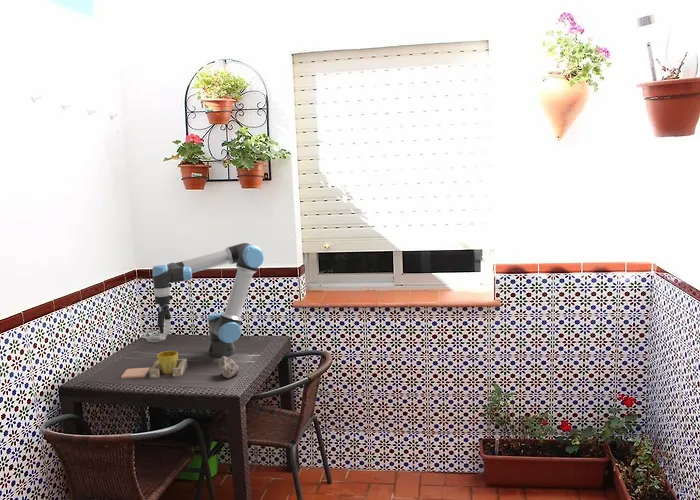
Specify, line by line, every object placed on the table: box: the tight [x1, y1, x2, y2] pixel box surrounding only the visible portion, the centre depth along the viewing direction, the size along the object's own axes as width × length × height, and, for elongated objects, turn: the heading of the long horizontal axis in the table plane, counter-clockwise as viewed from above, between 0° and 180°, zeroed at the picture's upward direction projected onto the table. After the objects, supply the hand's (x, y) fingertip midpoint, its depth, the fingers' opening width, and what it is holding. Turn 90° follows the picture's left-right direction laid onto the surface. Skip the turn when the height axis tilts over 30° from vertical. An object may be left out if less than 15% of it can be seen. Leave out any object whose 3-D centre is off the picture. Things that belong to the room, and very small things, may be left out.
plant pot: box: [156, 350, 179, 375], centre depth 343 cm, size 10×10×10 cm
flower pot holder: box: [148, 358, 188, 379], centre depth 343 cm, size 16×16×4 cm
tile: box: [120, 367, 151, 379], centre depth 342 cm, size 12×12×1 cm
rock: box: [218, 356, 240, 379], centre depth 332 cm, size 9×12×10 cm
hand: (165, 335), depth 340 cm, fingers open, 13 cm apart
